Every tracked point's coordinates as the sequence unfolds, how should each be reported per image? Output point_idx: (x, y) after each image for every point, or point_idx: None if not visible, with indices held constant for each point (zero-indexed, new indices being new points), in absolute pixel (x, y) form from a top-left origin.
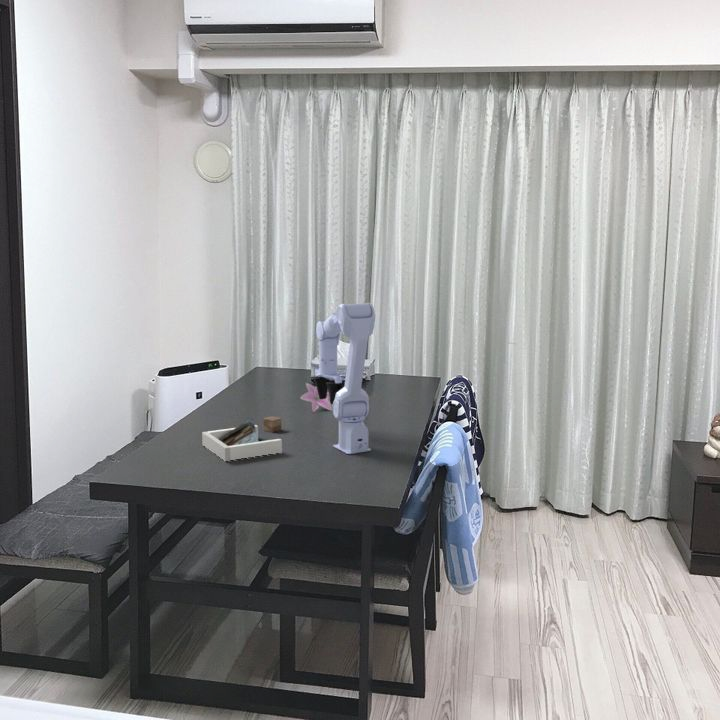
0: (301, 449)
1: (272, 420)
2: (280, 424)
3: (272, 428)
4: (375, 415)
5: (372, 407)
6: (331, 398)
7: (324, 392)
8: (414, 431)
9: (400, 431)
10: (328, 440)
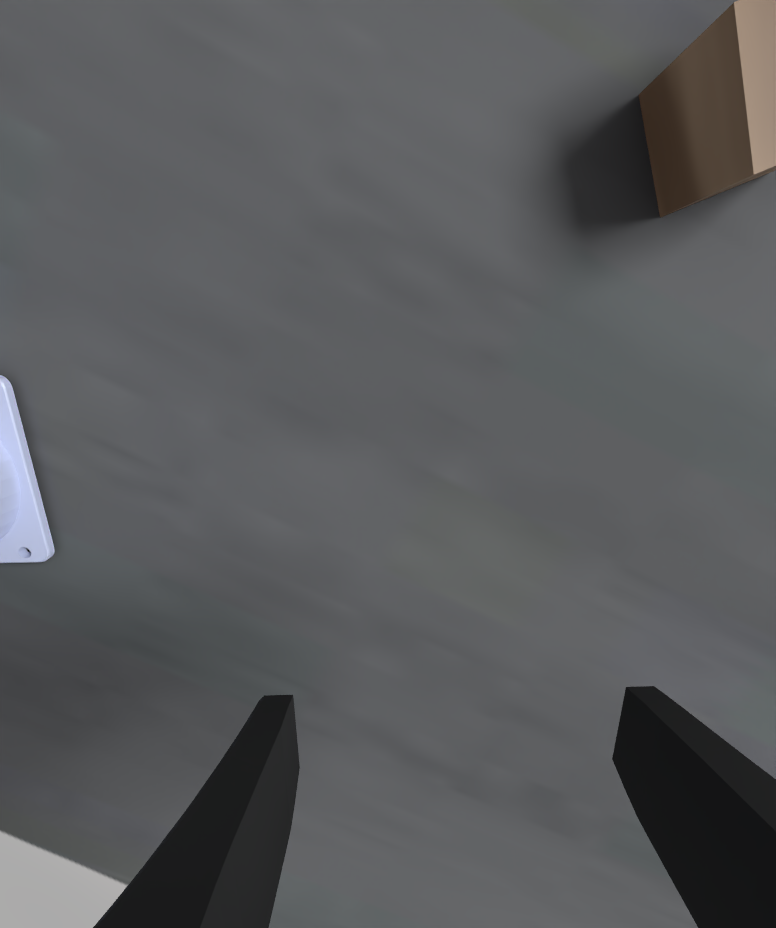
0: (9, 87)
1: (736, 5)
2: (696, 186)
3: (665, 69)
4: (579, 879)
5: None
6: (211, 785)
7: (686, 853)
8: None
9: None
10: (196, 426)
